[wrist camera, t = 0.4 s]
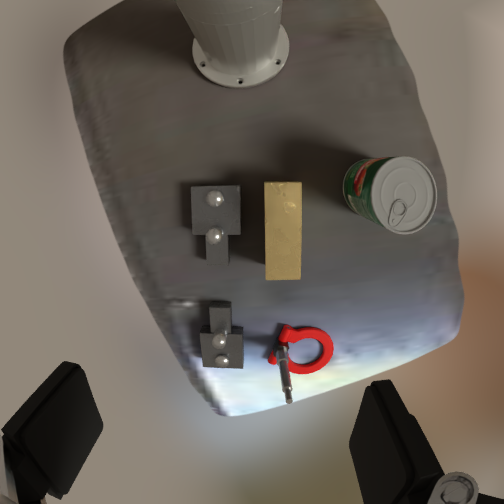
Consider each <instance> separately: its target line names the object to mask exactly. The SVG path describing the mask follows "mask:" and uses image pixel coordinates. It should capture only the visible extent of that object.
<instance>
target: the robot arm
mask: <svg viewBox="0 0 504 504" xmlns="http://www.w3.org/2000/svg"><path fill="white" fill-rule="evenodd" d="M282 1H283V0H175V2H176V4H177V5H178V7H179V9H180V11H181V13H182V14H183V16H184V18H185V20H186V22H187V24H188V25H189V27H190V29H191V31H192V33H193V35H194V36H195V38H194V40H193V46H192V54H193V58H194V62H195V64H196V66H197V67H198V69H199V70H200V72H201V73H202V74H203V75H204V76H205V77H206V78H207V79H209V80H210V81H212V82H214V83H216V84H218V85H221V86H224V87H229V88H249V87H254V86H257V85H261V84H263V83H265V82H267V81H269V80H270V79H272V78H273V77H274V76H276V75H277V74H278V72H279V71H280V70H281V69H282V68H283V66H284V64H285V63H286V60H287V57H288V54H289V39H288V36H287V33H286V31H285V29H284V27H283V26H282V25H281V24H280V18H281V10H282ZM276 63H279V65H276ZM203 65H206V66H205V67H202V66H203ZM240 81H242V84H239V82H240ZM1 430H2V432H3V433H4V435H3V436H2V437H1V435H0V504H47V503H46V500H45V495H46V493H48V494H49V495H51V496H54V497H55V498H58V499H60V500H61V498H62V497H63V495H64V494H67V493H68V492H69V490H70V488H71V486H72V484H73V483H74V481H75V479H76V477H77V475H78V473H79V471H80V470H81V468H82V466H83V464H84V462H85V461H86V459H87V457H88V455H89V453H90V452H91V450H92V448H93V446H94V444H95V443H96V441H97V439H98V437H99V436H100V434H101V432H102V430H103V421H102V419H101V416H100V414H99V411H98V409H97V406H96V403H95V401H94V398H93V395H92V392H91V390H90V386H89V384H88V381H87V377H86V374H85V372H84V370H83V369H82V368H81V366H80V365H79V364H76V363H71V362H67V361H64V362H62V363H61V364H60V365H59V366H58V367H57V368H56V369H55V370H54V371H53V373H52V374H51V375H50V376H49V377H48V378H47V379H46V380H45V381H44V382H43V383H42V384H41V385H40V386H39V387H38V389H37V390H36V391H35V392H34V393H33V394H32V395H31V396H30V397H29V398H28V400H27V401H26V402H25V403H24V404H23V405H22V406H21V408H19V410H18V411H17V412H16V413H15V414H14V415H13V416H12V417H11V419H10V420H9V421H8V422H7V423H6V424H5V426H4V427H3V428H2V429H1ZM349 448H350V452H351V456H352V459H353V463H354V466H355V471H356V474H357V478H358V482H359V486H360V490H361V494H362V498H363V502H364V504H504V499H500V498H496V497H492V496H488V495H485V494H481V493H478V490H479V489H478V485H477V483H476V481H475V479H474V478H473V477H471V476H470V475H468V474H465V473H463V472H452V473H448V474H446V475H445V474H444V472H443V470H442V468H441V466H440V464H439V462H438V460H437V458H436V456H435V454H434V452H433V450H432V448H431V446H430V444H429V442H428V440H427V438H426V437H425V435H424V433H423V431H422V429H421V427H420V425H419V424H418V422H417V420H416V418H415V417H414V416H413V415H411V414H409V412H408V410H407V408H406V407H405V405H404V403H403V401H402V399H401V397H400V396H399V394H398V392H397V390H396V388H395V387H394V385H393V383H392V382H391V380H389V379H388V380H381V381H373V382H372V383H371V385H370V386H367V387H366V389H365V392H364V396H363V399H362V402H361V406H360V410H359V413H358V416H357V419H356V422H355V425H354V428H353V431H352V434H351V437H350V441H349Z"/></svg>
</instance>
